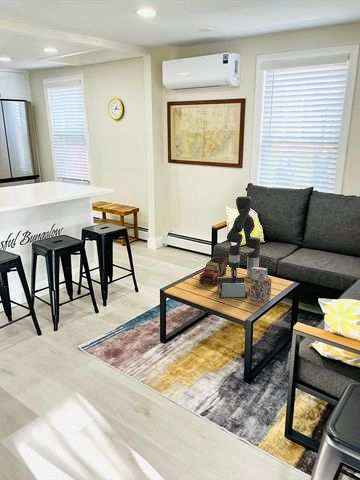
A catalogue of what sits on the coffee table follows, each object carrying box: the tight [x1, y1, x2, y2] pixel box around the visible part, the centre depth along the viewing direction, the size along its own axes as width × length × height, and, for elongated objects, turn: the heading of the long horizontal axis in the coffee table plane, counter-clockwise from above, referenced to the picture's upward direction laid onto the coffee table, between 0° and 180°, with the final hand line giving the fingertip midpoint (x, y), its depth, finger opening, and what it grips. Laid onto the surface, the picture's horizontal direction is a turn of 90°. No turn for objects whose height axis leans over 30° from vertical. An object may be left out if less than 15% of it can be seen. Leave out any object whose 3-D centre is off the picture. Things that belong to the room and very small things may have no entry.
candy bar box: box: [250, 266, 268, 281], centre depth 279 cm, size 11×5×16 cm, turn 62°
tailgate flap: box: [222, 282, 247, 297], centre depth 262 cm, size 1×16×10 cm, turn 90°
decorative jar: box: [249, 274, 272, 303], centre depth 262 cm, size 12×12×18 cm
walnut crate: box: [216, 276, 249, 300], centre depth 271 cm, size 16×20×10 cm
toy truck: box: [199, 256, 229, 287], centre depth 300 cm, size 14×35×15 cm, turn 155°
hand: (233, 283), depth 263 cm, fingers closed
